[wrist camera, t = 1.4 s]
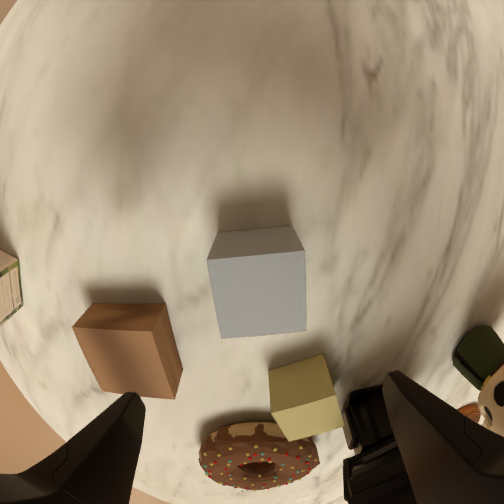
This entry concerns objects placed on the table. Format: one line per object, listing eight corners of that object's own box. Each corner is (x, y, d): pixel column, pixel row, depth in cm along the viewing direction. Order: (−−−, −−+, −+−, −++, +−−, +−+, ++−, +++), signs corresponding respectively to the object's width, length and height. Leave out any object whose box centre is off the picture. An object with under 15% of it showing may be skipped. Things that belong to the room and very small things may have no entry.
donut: (197, 458, 30) (193, 487, 25) (206, 405, 25) (200, 444, 21) (297, 467, 31) (301, 494, 26) (336, 416, 26) (345, 451, 21)
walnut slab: (166, 301, 21) (151, 331, 17) (183, 367, 23) (174, 399, 20) (94, 302, 21) (72, 327, 17) (117, 363, 24) (102, 390, 20)
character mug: (464, 308, 21) (540, 389, 9) (503, 298, 21) (572, 362, 9) (434, 385, 25) (479, 464, 13) (473, 371, 25) (519, 437, 13)
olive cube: (323, 353, 23) (335, 394, 18) (333, 386, 24) (344, 425, 19) (268, 369, 23) (270, 413, 19) (284, 401, 25) (288, 441, 20)
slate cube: (291, 225, 19) (304, 250, 14) (295, 291, 20) (306, 330, 16) (217, 232, 19) (206, 260, 14) (227, 297, 21) (221, 338, 16)
